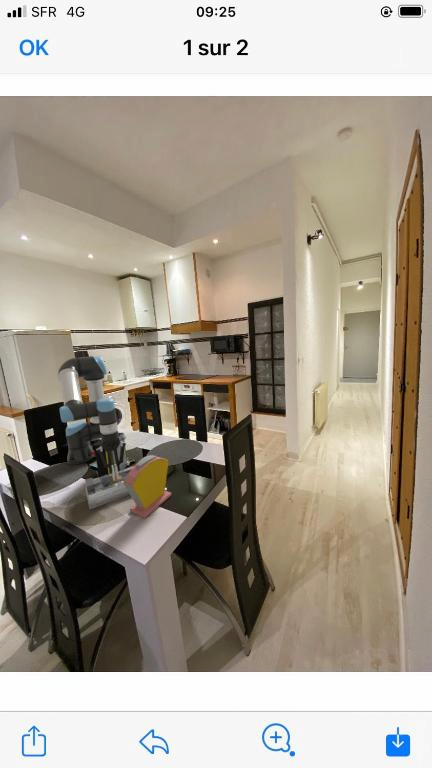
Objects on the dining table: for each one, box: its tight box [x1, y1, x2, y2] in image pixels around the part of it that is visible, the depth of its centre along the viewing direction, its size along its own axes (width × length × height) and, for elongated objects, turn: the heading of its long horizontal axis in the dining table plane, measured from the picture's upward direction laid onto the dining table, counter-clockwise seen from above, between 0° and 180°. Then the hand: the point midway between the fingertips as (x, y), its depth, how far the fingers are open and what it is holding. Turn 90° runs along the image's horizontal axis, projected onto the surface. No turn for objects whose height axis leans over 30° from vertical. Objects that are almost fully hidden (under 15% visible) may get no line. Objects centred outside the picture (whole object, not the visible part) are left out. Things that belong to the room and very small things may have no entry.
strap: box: [102, 475, 127, 487], centre depth 121 cm, size 6×16×2 cm, turn 123°
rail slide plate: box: [84, 465, 135, 510], centre depth 120 cm, size 14×26×7 cm, turn 123°
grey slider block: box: [84, 477, 101, 492], centre depth 115 cm, size 7×6×5 cm
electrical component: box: [91, 432, 130, 477], centre depth 137 cm, size 18×10×20 cm, turn 168°
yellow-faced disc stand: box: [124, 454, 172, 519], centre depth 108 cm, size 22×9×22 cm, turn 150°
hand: (115, 478), depth 120 cm, fingers closed, pressing on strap
